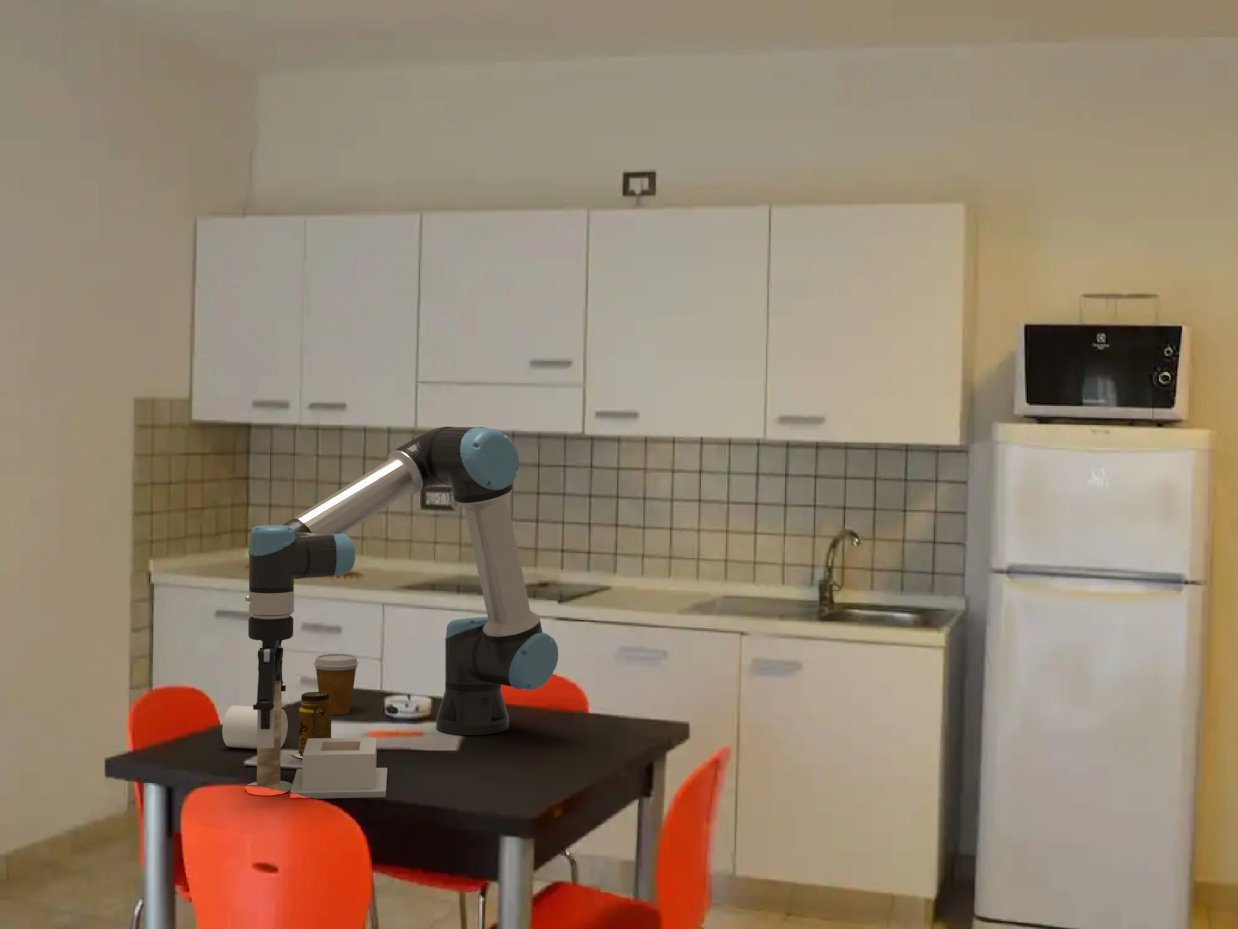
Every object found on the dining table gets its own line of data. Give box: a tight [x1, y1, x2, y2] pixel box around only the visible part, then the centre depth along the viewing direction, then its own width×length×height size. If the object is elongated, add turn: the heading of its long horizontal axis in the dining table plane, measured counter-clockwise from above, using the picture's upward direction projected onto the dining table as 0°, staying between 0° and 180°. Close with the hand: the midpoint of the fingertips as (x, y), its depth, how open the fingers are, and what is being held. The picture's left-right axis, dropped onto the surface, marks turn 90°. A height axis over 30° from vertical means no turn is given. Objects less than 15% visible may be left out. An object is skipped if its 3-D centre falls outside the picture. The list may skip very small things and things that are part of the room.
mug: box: [221, 705, 289, 750], centre depth 275 cm, size 12×10×8 cm
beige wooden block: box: [256, 681, 282, 789], centre depth 243 cm, size 4×4×18 cm
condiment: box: [298, 691, 332, 757], centre depth 268 cm, size 7×8×12 cm
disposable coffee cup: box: [313, 653, 359, 716], centre depth 306 cm, size 10×10×12 cm
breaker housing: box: [289, 737, 388, 799], centre depth 247 cm, size 16×16×7 cm
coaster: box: [247, 780, 293, 791], centre depth 243 cm, size 8×8×1 cm
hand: (269, 738), depth 243 cm, fingers open, 13 cm apart
